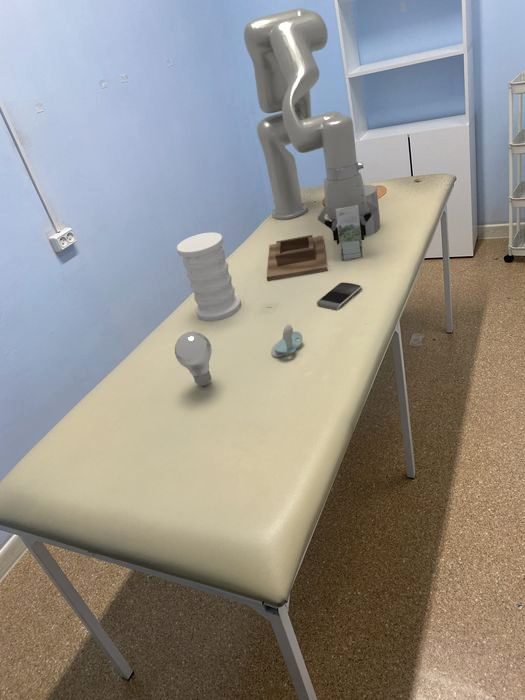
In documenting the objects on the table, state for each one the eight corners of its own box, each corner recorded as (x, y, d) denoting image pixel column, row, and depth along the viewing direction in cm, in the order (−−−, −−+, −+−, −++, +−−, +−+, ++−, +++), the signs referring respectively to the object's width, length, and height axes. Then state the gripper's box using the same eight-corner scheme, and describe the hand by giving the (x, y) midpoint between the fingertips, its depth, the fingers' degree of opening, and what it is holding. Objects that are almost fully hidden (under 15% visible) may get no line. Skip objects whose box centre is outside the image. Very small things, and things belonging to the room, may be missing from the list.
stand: (270, 248, 150) (267, 235, 148) (323, 239, 148) (321, 225, 145) (267, 281, 132) (264, 266, 130) (327, 271, 130) (325, 256, 127)
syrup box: (361, 249, 136) (356, 197, 128) (363, 258, 131) (358, 205, 123) (340, 252, 137) (334, 201, 129) (341, 261, 132) (335, 209, 124)
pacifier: (266, 359, 102) (291, 362, 99) (259, 333, 99) (285, 335, 96) (281, 339, 107) (306, 341, 104) (275, 314, 104) (301, 316, 101)
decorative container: (229, 292, 131) (211, 228, 121) (249, 307, 122) (231, 239, 112) (189, 309, 128) (168, 244, 118) (207, 326, 118) (185, 257, 109)
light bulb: (208, 399, 95) (190, 347, 88) (181, 392, 99) (162, 342, 92) (228, 377, 99) (213, 326, 93) (201, 371, 103) (185, 322, 97)
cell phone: (364, 290, 118) (363, 284, 117) (337, 312, 112) (337, 307, 111) (342, 286, 122) (341, 281, 121) (315, 308, 116) (314, 302, 115)
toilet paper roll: (386, 222, 148) (383, 183, 142) (371, 239, 141) (367, 199, 134) (349, 222, 155) (344, 185, 148) (332, 238, 147) (327, 199, 141)
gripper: (375, 160, 124) (380, 229, 134) (306, 174, 126) (317, 240, 136) (379, 168, 118) (385, 240, 127) (307, 182, 120) (318, 251, 130)
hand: (350, 239), depth 132 cm, fingers closed on syrup box, 5 cm apart
